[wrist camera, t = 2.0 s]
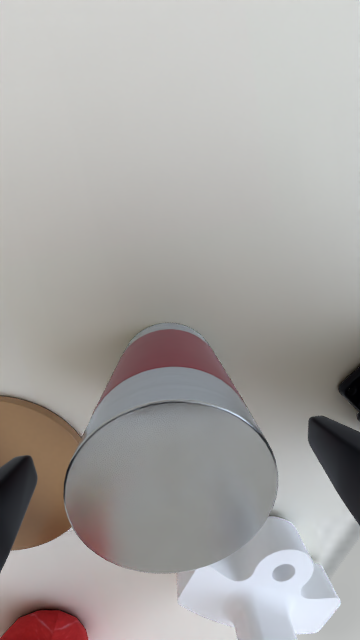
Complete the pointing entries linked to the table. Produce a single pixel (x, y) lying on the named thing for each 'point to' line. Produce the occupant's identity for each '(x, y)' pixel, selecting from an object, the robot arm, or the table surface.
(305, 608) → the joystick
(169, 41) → the table surface
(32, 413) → the coaster
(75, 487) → the can
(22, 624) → the red rounded piece
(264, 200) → the table surface
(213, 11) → the table surface
